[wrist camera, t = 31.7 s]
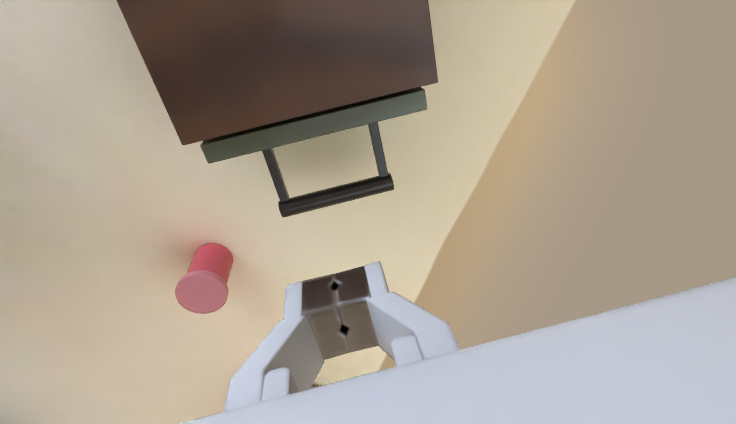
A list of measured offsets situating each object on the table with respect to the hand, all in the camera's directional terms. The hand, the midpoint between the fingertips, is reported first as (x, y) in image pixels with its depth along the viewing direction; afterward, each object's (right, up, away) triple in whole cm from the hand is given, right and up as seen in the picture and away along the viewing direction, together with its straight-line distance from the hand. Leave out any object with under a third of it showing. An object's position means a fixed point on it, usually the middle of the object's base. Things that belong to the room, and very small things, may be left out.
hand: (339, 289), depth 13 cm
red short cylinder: (-13, -2, +23) cm, 26 cm away
